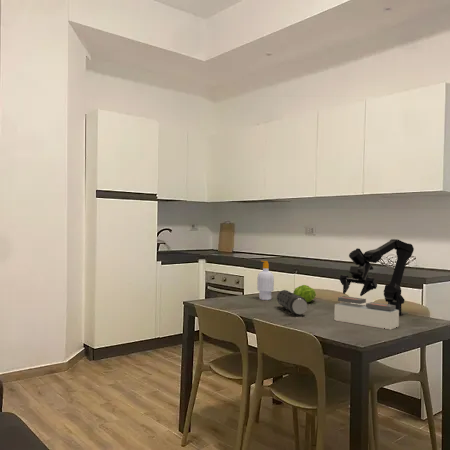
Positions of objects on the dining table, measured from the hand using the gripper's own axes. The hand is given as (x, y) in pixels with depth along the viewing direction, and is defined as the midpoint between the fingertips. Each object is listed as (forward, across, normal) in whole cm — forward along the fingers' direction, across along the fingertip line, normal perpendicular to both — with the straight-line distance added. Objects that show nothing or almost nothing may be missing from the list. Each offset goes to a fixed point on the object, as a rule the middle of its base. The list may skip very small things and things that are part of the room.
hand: (352, 294), depth 237 cm
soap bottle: (-6, -71, +25) cm, 76 cm away
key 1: (+3, 0, +2) cm, 4 cm away
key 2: (+3, +15, +3) cm, 16 cm away
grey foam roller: (+11, -35, +9) cm, 37 cm away
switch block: (+9, +8, +9) cm, 15 cm away
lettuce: (-15, -50, +34) cm, 62 cm away
